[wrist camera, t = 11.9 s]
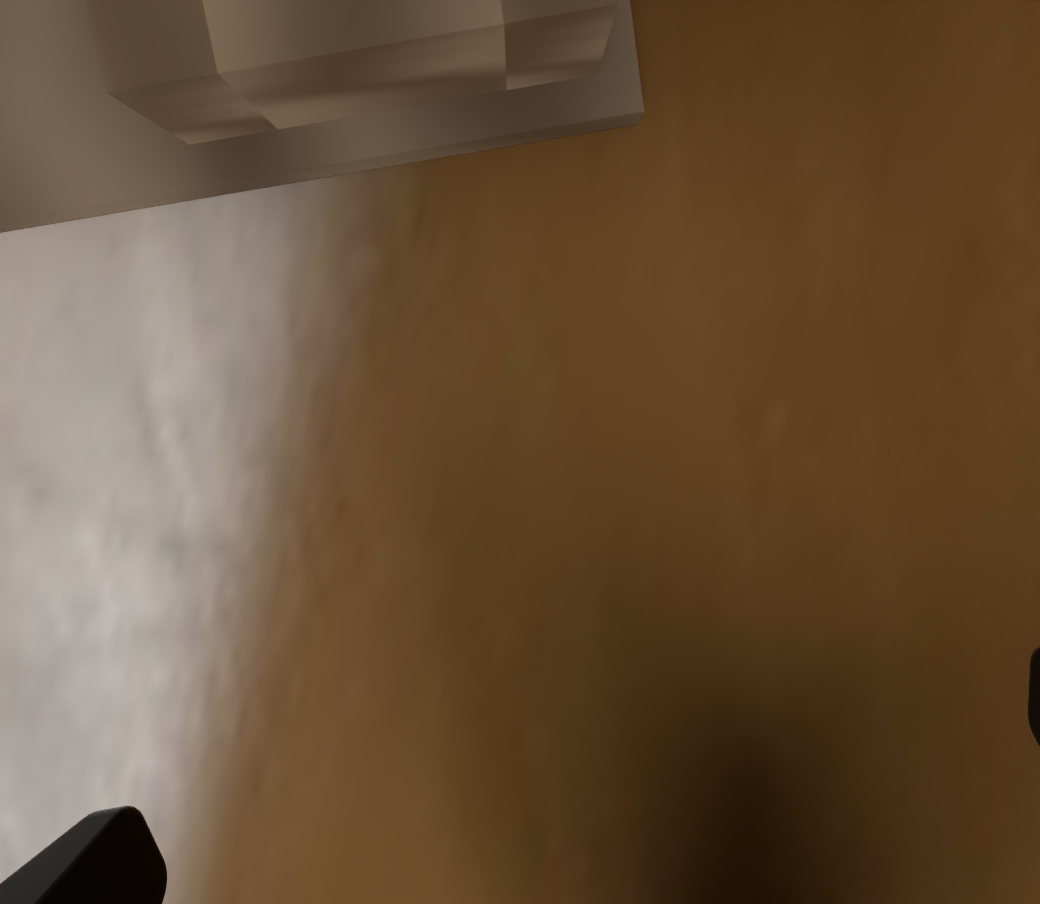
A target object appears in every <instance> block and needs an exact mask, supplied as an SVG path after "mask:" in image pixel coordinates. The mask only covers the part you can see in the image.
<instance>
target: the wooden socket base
mask: <svg viewBox="0 0 1040 904" xmlns="http://www.w3.org/2000/svg"><path fill="white" fill-rule="evenodd" d="M643 113H644V104H643V96H642V88H641V81H640V73H639V66H638V58H637V50H636V43H635V35H634V27H633V20H632V12H631V4H630V0H0V233H1V232H7V231H13V230H19V229H25V228H30V227H36V226H42V225H48V224H54V223H60V222H66V221H72V220H77V219H83V218H89V217H95V216H101V215H107V214H113V213H119V212H125V211H130V210H136V209H142V208H148V207H154V206H160V205H166V204H172V203H177V202H183V201H189V200H195V199H201V198H207V197H213V196H219V195H225V194H230V193H236V192H242V191H248V190H254V189H260V188H266V187H272V186H278V185H283V184H289V183H295V182H301V181H307V180H313V179H319V178H325V177H330V176H336V175H342V174H348V173H354V172H360V171H366V170H372V169H378V168H383V167H389V166H395V165H401V164H407V163H413V162H419V161H425V160H431V159H436V158H442V157H448V156H454V155H460V154H466V153H472V152H478V151H483V150H489V149H495V148H501V147H507V146H513V145H519V144H525V143H531V142H536V141H542V140H548V139H554V138H560V137H566V136H572V135H578V134H583V133H589V132H595V131H601V130H607V129H613V128H619V127H625V126H631V125H636V124H638V123H639V121H640V119H641V117H642V115H643Z"/></svg>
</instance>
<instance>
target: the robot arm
mask: <svg viewBox="0 0 1040 904" xmlns="http://www.w3.org/2000/svg"><path fill="white" fill-rule="evenodd" d="M1028 719H1029V724H1030V727H1031V730H1032V733H1033V735H1034V737H1035V739H1036V741H1037V742H1038V744H1039V745H1040V647H1039V648H1037V649H1035V651H1034V652H1033V654H1032V656H1031V660H1030V678H1029V700H1028ZM166 885H167V870H166V865H165V862H164V859H163V857H162V855H161V853H160V851H159V848H158V846H157V844H156V842H155V840H154V838H153V836H152V834H151V832H150V829H149V827H148V825H147V823H146V821H145V819H144V817H143V815H142V813H141V812H140V811H139V810H138V809H136V808H135V807H132V806H123V807H117V808H111V809H106V810H100V811H97V812H93V813H91V814H89V815H88V816H86V817H85V818H83V819H82V820H81V821H80V822H78V823H77V824H76V825H74V826H73V827H72V828H71V829H69V830H68V831H67V832H66V833H64V834H63V835H62V836H60V837H59V838H58V839H57V840H55V841H54V842H53V843H52V844H50V845H49V846H48V847H46V848H45V849H44V850H43V851H41V852H40V853H39V854H38V855H36V856H35V857H34V858H32V859H31V860H30V861H29V862H27V863H26V864H25V865H24V866H22V867H21V868H20V869H18V870H17V871H16V872H15V873H13V874H12V875H11V876H10V877H8V878H7V879H6V880H4V881H3V882H2V883H1V884H0V904H162V902H163V899H164V895H165V891H166Z"/></svg>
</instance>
